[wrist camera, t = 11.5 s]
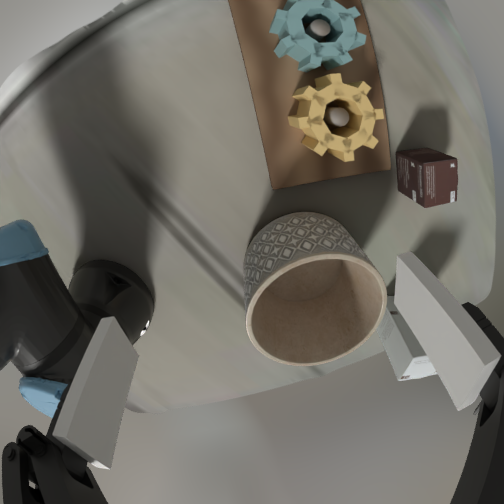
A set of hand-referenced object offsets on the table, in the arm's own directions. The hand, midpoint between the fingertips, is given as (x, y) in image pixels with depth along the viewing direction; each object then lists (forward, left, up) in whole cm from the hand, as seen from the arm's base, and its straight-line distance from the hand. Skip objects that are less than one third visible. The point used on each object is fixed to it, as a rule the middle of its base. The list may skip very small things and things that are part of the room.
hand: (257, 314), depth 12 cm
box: (+24, -3, -27) cm, 36 cm away
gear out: (+11, +6, -25) cm, 27 cm away
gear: (+11, +16, -25) cm, 31 cm away
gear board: (+11, +11, -27) cm, 31 cm away
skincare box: (+21, -28, -27) cm, 44 cm away
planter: (+5, -14, -27) cm, 31 cm away
